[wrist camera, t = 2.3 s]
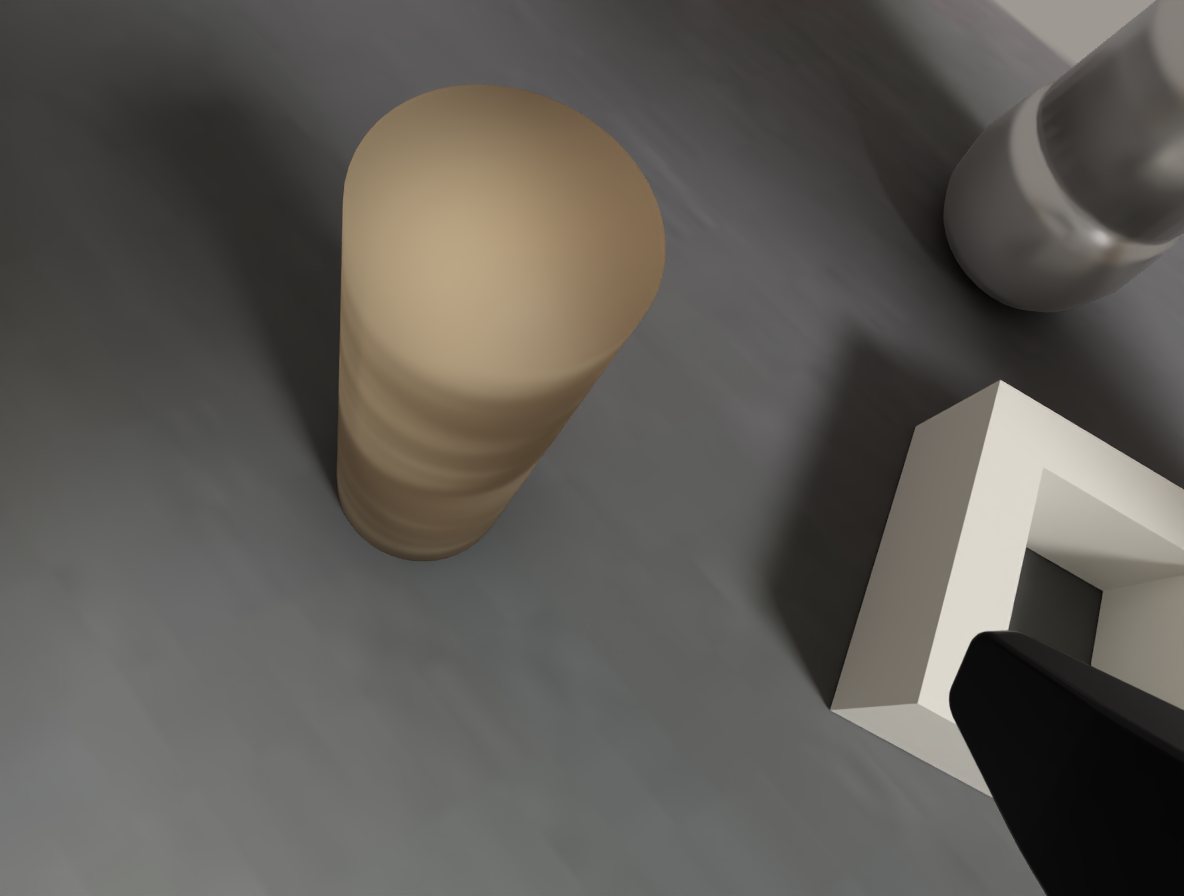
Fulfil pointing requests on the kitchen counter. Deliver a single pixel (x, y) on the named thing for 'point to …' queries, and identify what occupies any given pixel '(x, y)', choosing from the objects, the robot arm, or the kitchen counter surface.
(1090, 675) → the robot arm
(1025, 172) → the plastic bottle
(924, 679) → the socket
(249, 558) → the kitchen counter surface
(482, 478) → the peg
